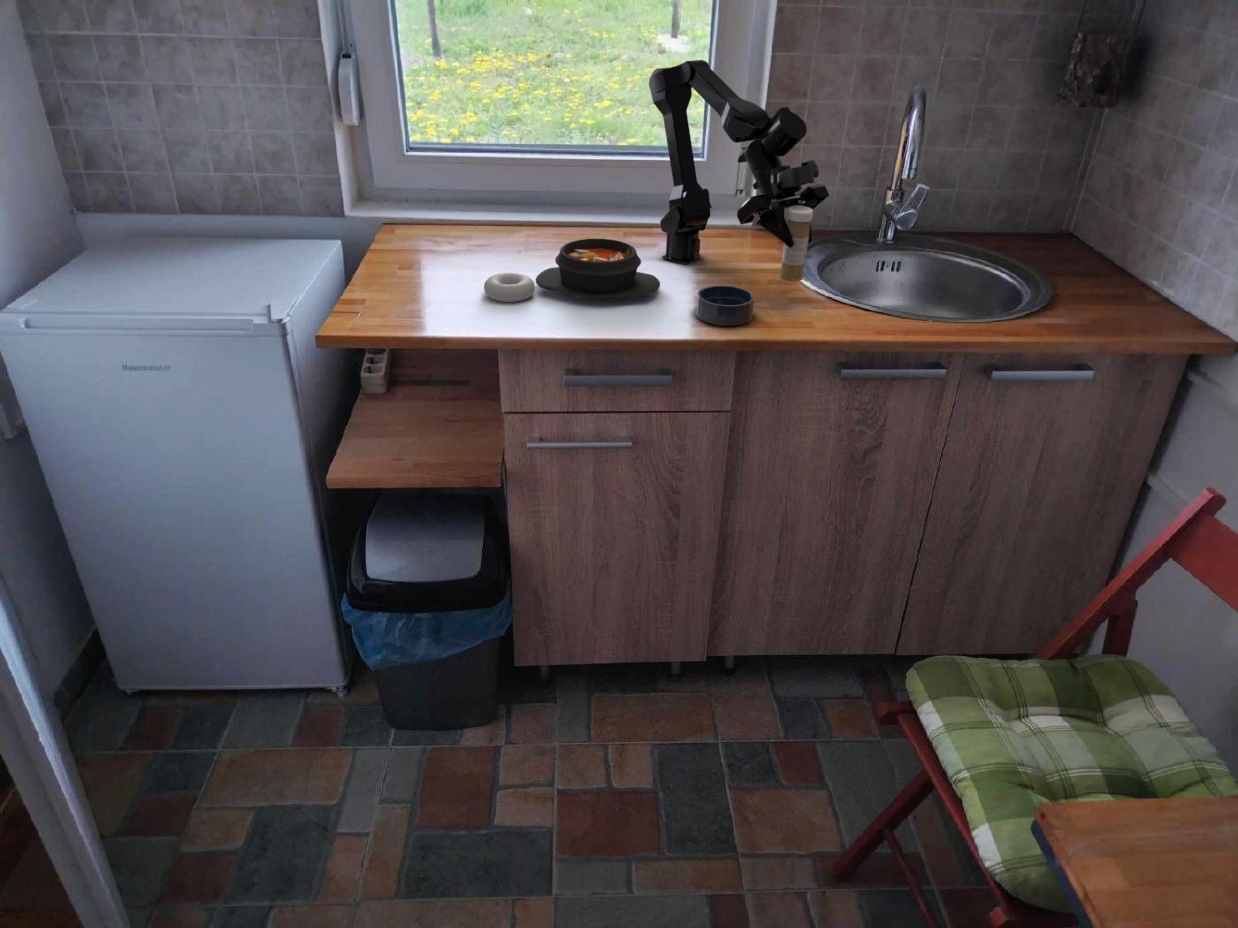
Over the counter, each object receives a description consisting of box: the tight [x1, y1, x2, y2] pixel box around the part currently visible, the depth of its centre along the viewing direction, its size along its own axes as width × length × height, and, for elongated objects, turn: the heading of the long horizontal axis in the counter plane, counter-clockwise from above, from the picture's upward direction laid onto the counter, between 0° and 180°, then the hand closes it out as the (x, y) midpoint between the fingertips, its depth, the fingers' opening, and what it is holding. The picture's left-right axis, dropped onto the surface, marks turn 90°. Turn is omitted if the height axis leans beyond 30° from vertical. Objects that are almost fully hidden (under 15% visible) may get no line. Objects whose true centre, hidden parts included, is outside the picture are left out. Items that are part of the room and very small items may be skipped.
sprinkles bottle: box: [779, 206, 814, 283], centre depth 172 cm, size 5×5×14 cm
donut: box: [483, 272, 536, 303], centre depth 180 cm, size 10×4×10 cm
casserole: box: [535, 238, 661, 301], centre depth 182 cm, size 25×19×8 cm
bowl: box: [695, 284, 755, 327], centre depth 173 cm, size 11×11×4 cm
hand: (801, 244), depth 171 cm, fingers closed on sprinkles bottle, 4 cm apart
